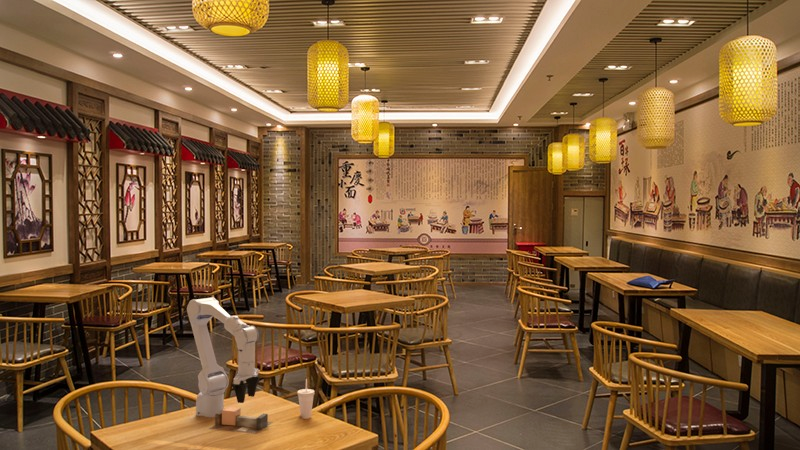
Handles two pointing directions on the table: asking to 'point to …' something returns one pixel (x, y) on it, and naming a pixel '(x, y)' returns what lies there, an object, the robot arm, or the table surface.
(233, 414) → the sleeve
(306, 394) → the smoothie
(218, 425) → the rail board
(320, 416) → the table surface
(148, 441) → the table surface
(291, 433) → the table surface
